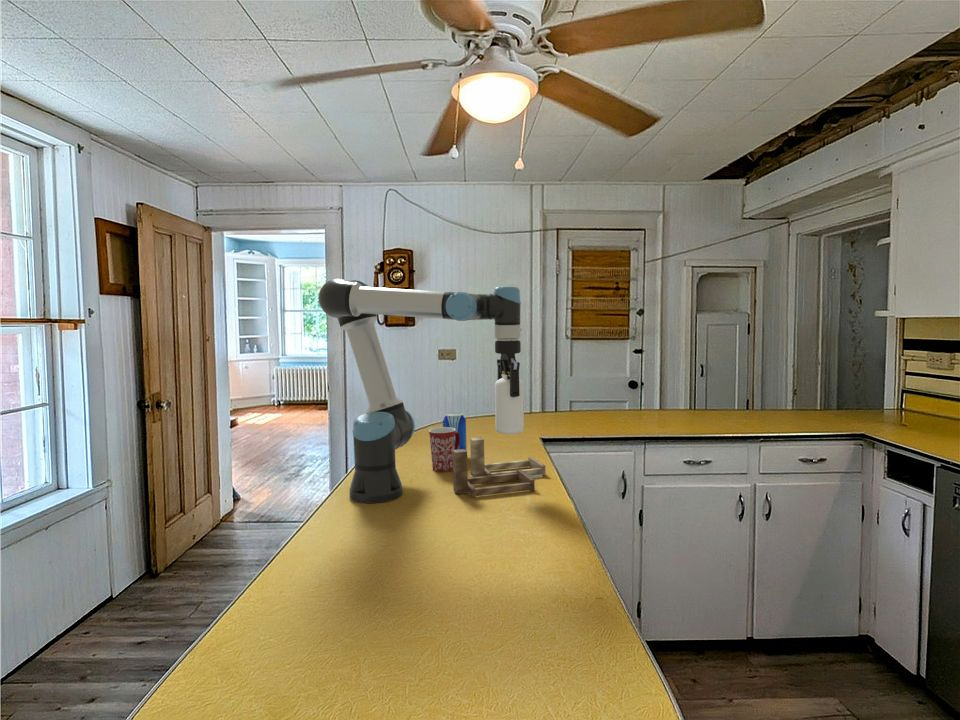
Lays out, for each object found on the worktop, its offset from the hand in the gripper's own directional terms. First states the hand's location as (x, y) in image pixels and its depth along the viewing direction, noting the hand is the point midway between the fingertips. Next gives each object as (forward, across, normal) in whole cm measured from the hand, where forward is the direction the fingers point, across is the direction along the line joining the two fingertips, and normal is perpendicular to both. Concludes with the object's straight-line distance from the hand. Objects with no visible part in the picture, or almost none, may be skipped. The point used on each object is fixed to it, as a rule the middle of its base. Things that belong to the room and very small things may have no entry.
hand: (508, 418), depth 168 cm
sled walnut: (+21, 0, +5) cm, 21 cm away
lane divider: (+21, +6, -5) cm, 23 cm away
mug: (+21, +28, +13) cm, 37 cm away
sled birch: (+21, +13, -4) cm, 25 cm away
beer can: (+21, +41, +7) cm, 47 cm away
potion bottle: (+4, -1, 0) cm, 4 cm away
